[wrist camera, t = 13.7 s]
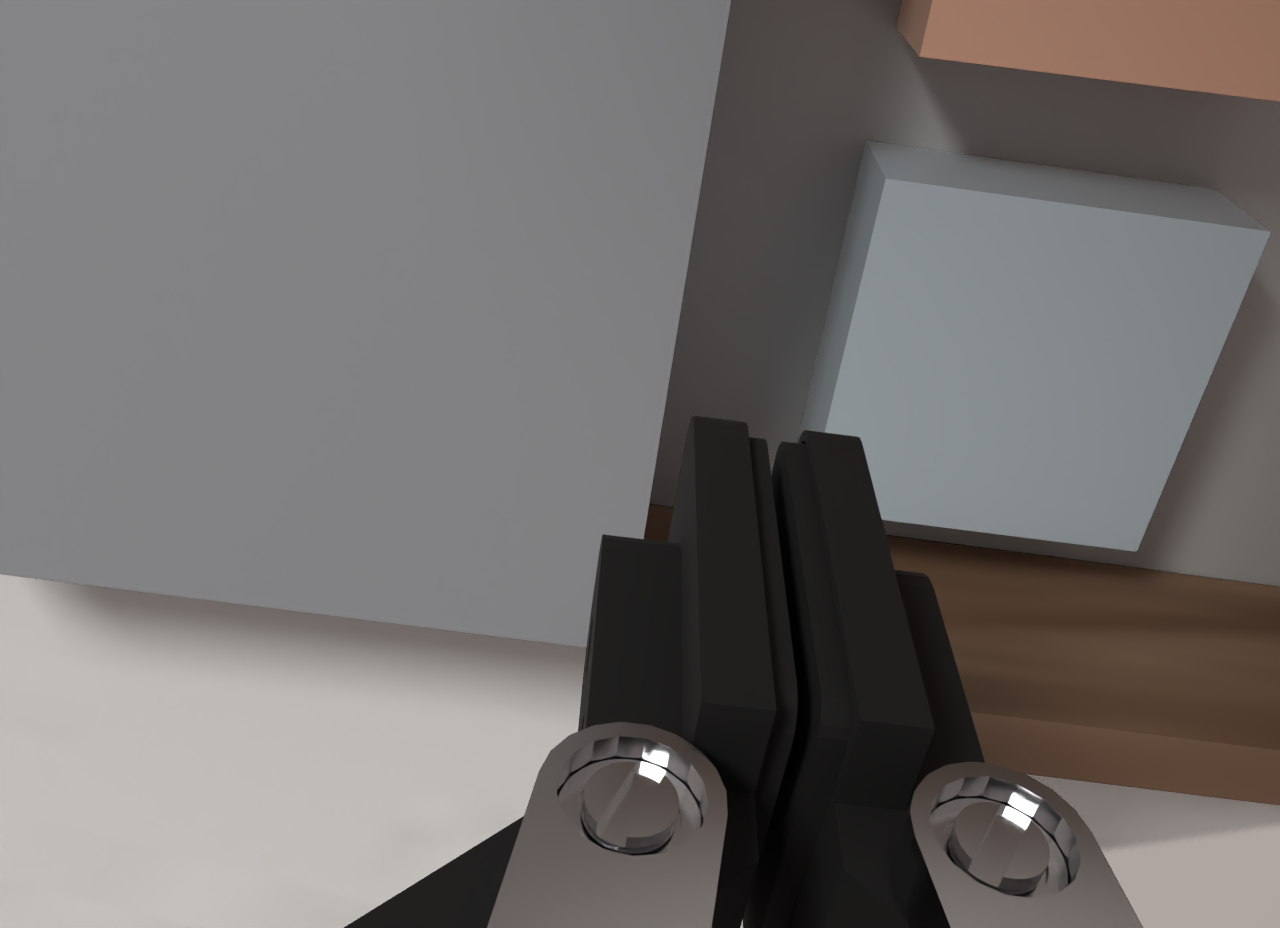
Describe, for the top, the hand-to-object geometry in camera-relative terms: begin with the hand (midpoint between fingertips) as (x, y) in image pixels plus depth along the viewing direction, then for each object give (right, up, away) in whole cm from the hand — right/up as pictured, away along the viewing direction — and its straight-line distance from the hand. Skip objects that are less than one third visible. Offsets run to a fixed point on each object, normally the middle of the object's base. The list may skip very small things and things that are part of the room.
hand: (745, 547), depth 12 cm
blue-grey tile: (+5, +2, +7) cm, 9 cm away
